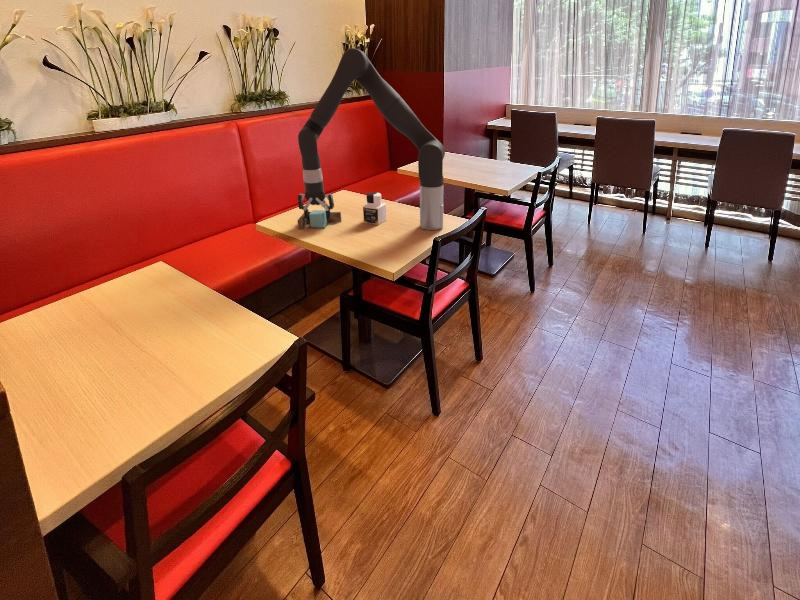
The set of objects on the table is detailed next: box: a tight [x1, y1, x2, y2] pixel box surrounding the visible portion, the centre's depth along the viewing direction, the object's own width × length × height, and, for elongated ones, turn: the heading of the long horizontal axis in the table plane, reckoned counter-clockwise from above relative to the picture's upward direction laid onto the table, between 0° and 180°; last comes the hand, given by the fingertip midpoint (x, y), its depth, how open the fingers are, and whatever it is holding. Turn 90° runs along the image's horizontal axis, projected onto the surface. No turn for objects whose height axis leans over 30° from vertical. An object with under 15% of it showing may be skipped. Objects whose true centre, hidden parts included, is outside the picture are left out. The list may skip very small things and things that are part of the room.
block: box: [309, 209, 327, 228], centre depth 200 cm, size 6×6×6 cm
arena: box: [296, 211, 342, 231], centre depth 201 cm, size 16×11×4 cm
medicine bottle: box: [362, 191, 387, 226], centre depth 201 cm, size 7×7×12 cm
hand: (317, 218), depth 200 cm, fingers open, 8 cm apart
